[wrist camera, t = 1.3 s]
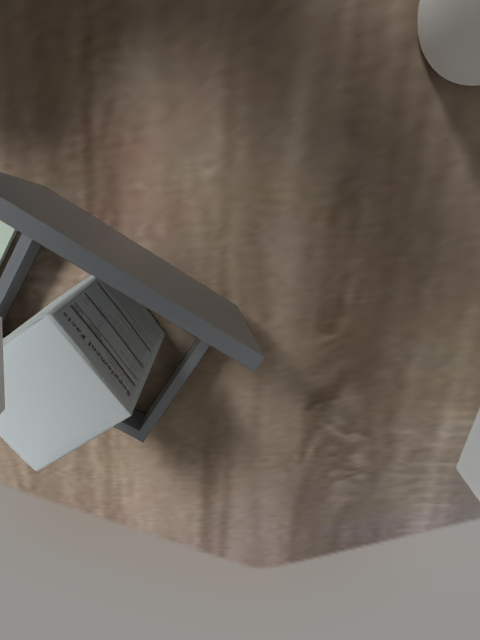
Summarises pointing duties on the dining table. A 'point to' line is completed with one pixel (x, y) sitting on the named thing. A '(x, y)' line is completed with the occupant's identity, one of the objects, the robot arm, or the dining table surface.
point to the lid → (127, 267)
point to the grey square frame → (138, 424)
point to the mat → (5, 239)
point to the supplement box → (75, 370)
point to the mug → (451, 38)
